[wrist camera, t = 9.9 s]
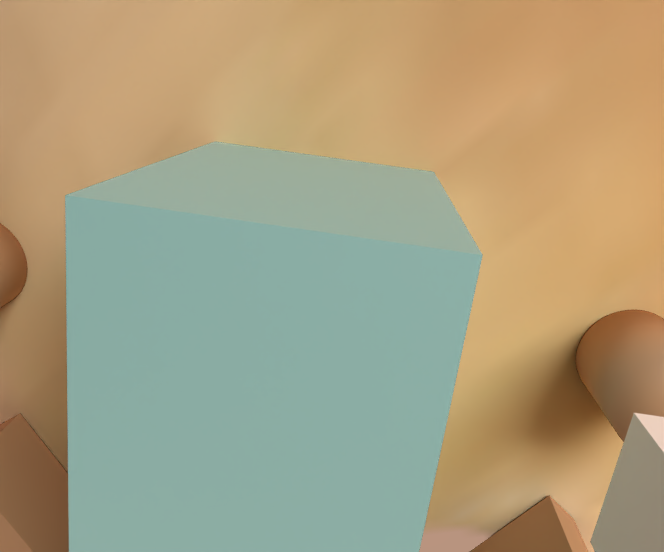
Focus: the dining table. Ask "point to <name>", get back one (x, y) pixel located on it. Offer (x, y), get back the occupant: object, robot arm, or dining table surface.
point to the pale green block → (260, 352)
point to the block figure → (502, 548)
